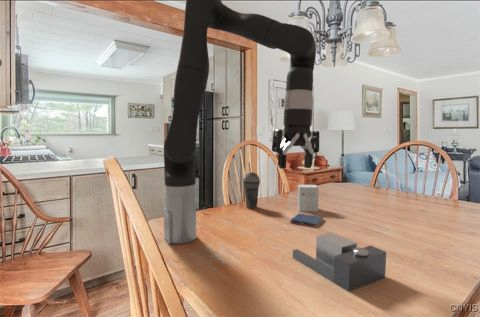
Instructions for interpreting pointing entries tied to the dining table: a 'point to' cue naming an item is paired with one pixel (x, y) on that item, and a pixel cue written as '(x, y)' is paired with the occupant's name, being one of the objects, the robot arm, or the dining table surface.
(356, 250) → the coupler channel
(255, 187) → the beverage cup
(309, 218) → the woven mat
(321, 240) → the block
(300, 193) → the small box
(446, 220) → the dining table surface
